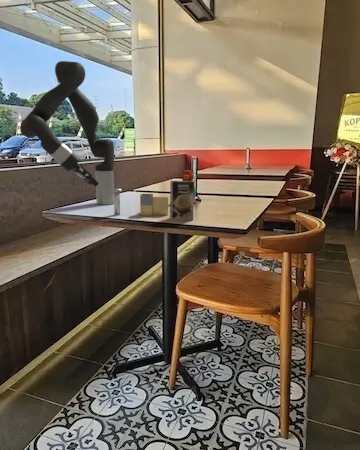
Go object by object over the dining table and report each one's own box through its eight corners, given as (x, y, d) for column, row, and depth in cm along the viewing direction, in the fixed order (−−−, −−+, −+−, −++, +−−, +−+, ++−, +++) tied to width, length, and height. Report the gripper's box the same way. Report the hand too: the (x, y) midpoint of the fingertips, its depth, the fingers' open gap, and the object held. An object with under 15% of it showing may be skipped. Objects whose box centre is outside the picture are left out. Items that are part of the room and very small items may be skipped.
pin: (113, 213, 166) (112, 188, 163) (123, 214, 165) (122, 188, 163) (111, 215, 161) (110, 189, 159) (121, 215, 161) (120, 189, 158)
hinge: (144, 210, 174) (144, 191, 172) (169, 211, 173) (169, 192, 172) (140, 215, 162) (140, 195, 160) (167, 215, 162) (167, 195, 160)
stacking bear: (174, 203, 197) (174, 170, 193) (180, 200, 206) (180, 169, 202) (194, 204, 194) (194, 170, 190) (198, 201, 203) (199, 169, 199)
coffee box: (172, 221, 151) (172, 181, 148) (169, 218, 157) (169, 180, 154) (193, 220, 153) (194, 181, 149) (190, 217, 159) (190, 180, 156)
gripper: (75, 150, 143) (105, 179, 150) (68, 150, 155) (96, 176, 163) (61, 164, 142) (92, 192, 149) (56, 162, 154) (84, 188, 162)
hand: (94, 184), depth 156 cm, fingers open, 8 cm apart
